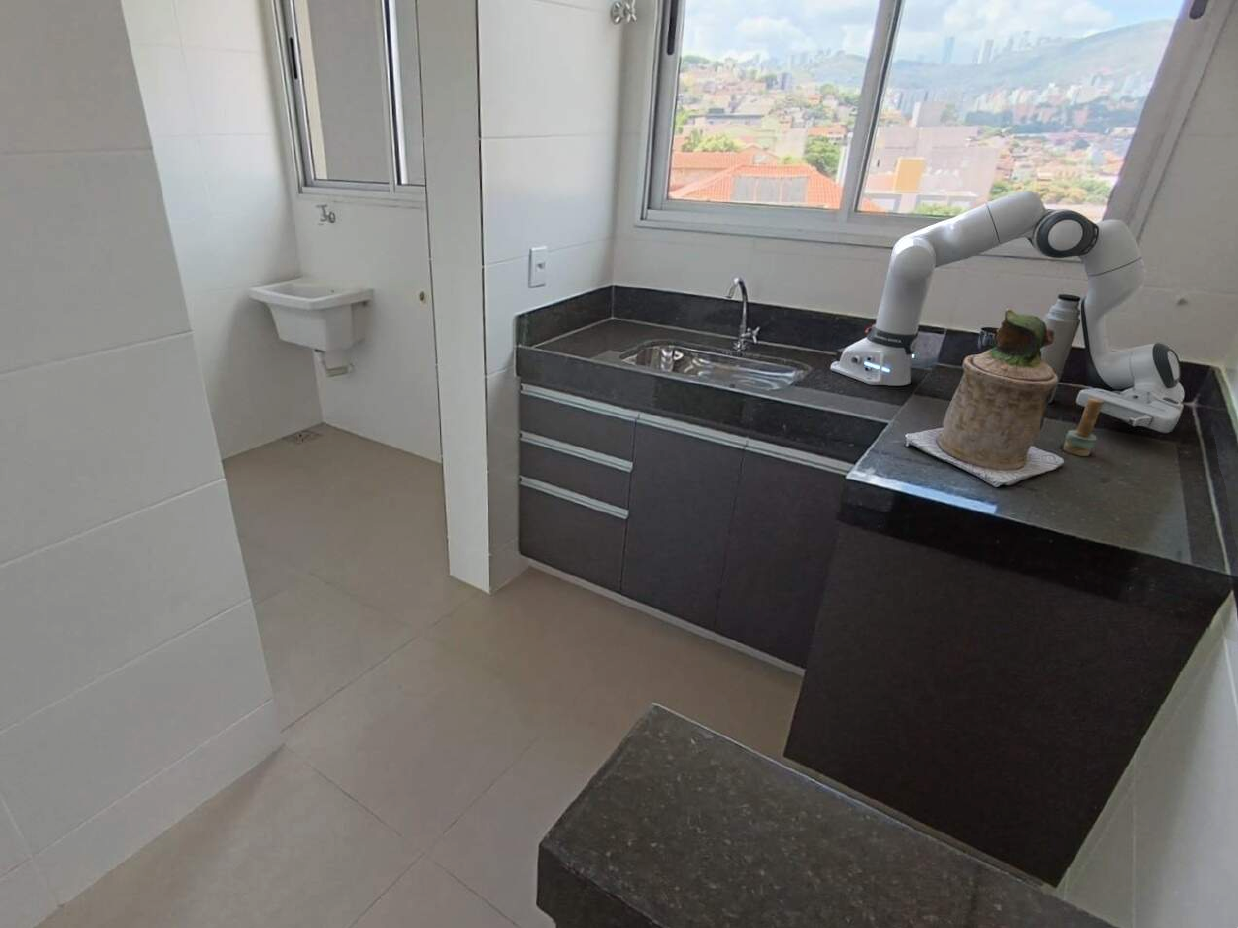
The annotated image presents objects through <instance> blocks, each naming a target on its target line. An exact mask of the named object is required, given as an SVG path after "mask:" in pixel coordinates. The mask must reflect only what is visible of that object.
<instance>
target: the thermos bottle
mask: <svg viewBox="0 0 1238 928" xmlns="http://www.w3.org/2000/svg"><path fill="white" fill-rule="evenodd" d="M1057 298H1058V299H1057V300H1056V303H1055V304H1054V305H1052V306H1051V307H1050V309H1049V310H1048V313H1046V314H1045V315H1044V318H1043V320H1042V321H1044V322H1045V324H1046V327H1047V328H1050V329H1052V330H1053V332H1054V342H1053V343H1052V344H1050V345H1048V346H1044V347H1042V348H1041V349H1040V351H1041V359H1042V360H1043V361H1044V362H1045V363H1046V364H1048V365H1049V366H1050V367H1051V368H1052V370H1053V372H1054V373H1055V374H1056V375H1057V378H1058V383H1057V384H1056V385H1055V386H1054V388H1053V390H1052V397H1051V399H1050V401H1049V402H1048V404H1051V403H1052V402H1053V400H1054V398H1055V394H1056V392H1057V389H1058V385H1059V383H1060V380H1061V377H1062V374H1063V371H1064V367H1065V364H1066V361H1067V359H1068V357H1069V355H1070V352H1071V349H1072V346H1073V344H1074V341H1075V337H1076V335H1077V332H1078V329H1079V327H1080V323H1081V318H1080V317H1079V316H1081V309H1079V305H1080V302H1081V300H1082V297H1081V296H1078V295H1074V294H1067V293H1061V294H1058V295H1057Z"/></svg>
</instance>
